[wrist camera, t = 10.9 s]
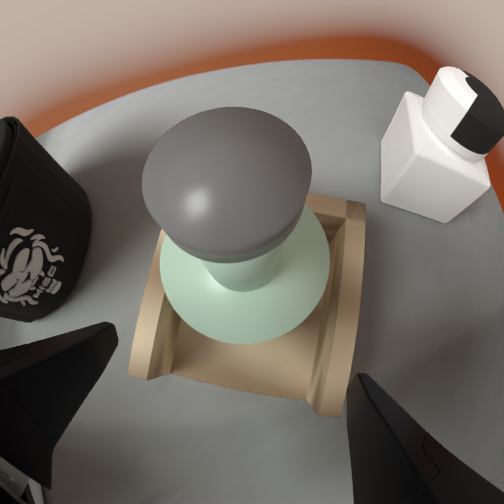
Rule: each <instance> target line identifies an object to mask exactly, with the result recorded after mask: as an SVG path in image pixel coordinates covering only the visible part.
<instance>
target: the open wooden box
mask: <svg viewBox="0 0 504 504" xmlns="http://www.w3.org/2000/svg"><path fill="white" fill-rule="evenodd" d="M305 204H306V205H307V206H308V207H309V208H310V210H311V211H312V212H313V213H314V214H315V216H316V217H317V219H318V220H319V222H320V224H321V226H322V228H323V230H324V232H325V235H326V239H327V242H328V247H329V253H330V268H329V276H328V280H327V284H326V287H325V289H324V292H323V294H322V297H321V298H320V300H319V302H318V304H317V305H316V307H315V308H314V309H313V311H312V312H311V313H310V315H309V316H308V317H307V318H306V319H305V320H304V321H303V322H302V323H300V324H299V325H298V326H296V327H295V328H294V329H292V330H291V331H289V332H287V333H286V334H284V335H282V336H280V337H277V338H275V339H272V340H269V341H265V342H261V343H255V344H231V343H226V342H221V341H218V340H215V339H212V338H209V337H207V336H205V335H203V334H202V333H200V332H198V331H196V330H195V329H194V328H192V327H191V326H189V325H188V324H187V323H186V322H185V321H184V320H183V319H182V318H181V317H180V316H179V315H178V313H177V312H176V311H175V310H174V308H173V307H172V305H171V303H170V302H169V300H168V298H167V295H166V293H165V291H164V288H163V284H162V280H161V274H160V254H161V247H162V244H163V240H164V237H165V234H166V233H165V232H164V231H163V229H161V232H160V235H159V239H158V242H157V246H156V249H155V252H154V256H153V260H152V263H151V267H150V271H149V274H148V278H147V282H146V286H145V290H144V294H143V298H142V302H141V307H140V311H139V315H138V320H137V325H136V329H135V334H134V339H133V344H132V350H131V355H130V361H129V366H128V372H127V374H130V375H133V376H135V377H138V378H141V379H144V380H150V379H153V378H157V377H160V376H163V375H166V374H169V373H171V374H175V375H178V376H182V377H185V378H189V379H193V380H197V381H201V382H205V383H209V384H213V385H218V386H222V387H227V388H232V389H236V390H242V391H247V392H252V393H258V394H264V395H270V396H277V397H284V398H292V399H300V400H307V402H308V403H309V404H310V406H311V407H312V408H313V409H314V411H315V412H316V413H317V415H318V416H328V417H341V413H342V409H343V405H344V400H345V396H346V391H347V386H348V381H349V376H350V371H351V365H352V359H353V353H354V347H355V340H356V334H357V326H358V318H359V310H360V301H361V291H362V279H363V266H364V248H365V217H366V204H363V203H358V202H353V201H349V200H344V199H339V198H334V197H328V196H323V195H318V194H312V193H308V194H307V197H306V201H305Z"/></svg>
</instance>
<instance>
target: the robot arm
mask: <svg viewBox="0 0 504 504" xmlns="http://www.w3.org/2000/svg"><path fill="white" fill-rule="evenodd" d="M117 345H118V336H117V332H116V328H115V325H114V324H112V323H109V322H102V323H98V324H95V325H91V326H88V327H85V328H81V329H78V330H74V331H71V332H68V333H64V334H61V335H57V336H54V337H50V338H47V339H43V340H40V341H36V342H32V343H29V344H24V345H20V346H16V347H12V348H8V349H3V350H0V504H35V502H34V499H33V496H32V493H31V489H30V486H29V483H28V481H29V480H30V478H31V479H32V480H34V481H35V482H37V483H39V484H40V485H42V486H44V487H45V488H47V489H49V490H51V488H52V454H53V450H54V447H55V446H56V444H57V442H58V441H59V439H60V437H61V436H62V434H63V433H64V431H65V429H66V428H67V426H68V425H69V423H70V421H71V420H72V418H73V417H74V415H75V414H76V412H77V411H78V409H79V407H80V406H81V404H82V403H83V401H84V400H85V398H86V397H87V395H88V394H89V392H90V391H91V389H92V388H93V386H94V385H95V383H96V382H97V381H98V379H99V378H100V376H101V375H102V373H103V372H104V370H105V368H106V366H107V364H108V362H109V360H110V359H111V357H112V355H113V353H114V351H115V349H116V347H117ZM347 431H348V439H349V449H350V459H351V469H352V482H353V497H354V504H504V492H503V491H501V490H500V489H498V488H497V487H496V486H494V485H493V484H492V483H490V482H489V481H487V480H486V479H485V478H483V477H482V476H481V475H479V474H478V473H477V472H475V471H474V470H473V469H471V468H470V467H469V466H467V465H466V464H465V463H463V462H462V461H461V460H459V459H458V458H457V457H456V456H454V455H453V454H452V453H450V452H449V451H448V450H447V449H446V448H444V447H443V446H442V445H441V444H440V443H439V442H438V441H436V440H435V439H434V438H433V437H432V436H431V435H430V434H429V433H428V432H426V431H425V430H424V429H423V428H422V427H421V426H420V425H419V424H418V423H417V422H416V421H415V420H414V419H413V418H412V417H411V416H410V415H409V414H408V413H407V412H406V411H405V410H404V409H403V408H402V407H401V406H400V405H399V404H398V403H396V402H395V401H394V400H393V399H392V398H391V397H390V396H389V395H388V394H387V393H386V392H385V391H384V390H383V389H382V388H381V387H380V386H379V385H378V384H377V383H376V382H375V381H374V380H373V379H372V378H371V377H370V376H369V375H368V374H366V373H356V374H355V376H354V377H353V379H352V381H351V382H350V384H349V386H348V389H347Z"/></svg>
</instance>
